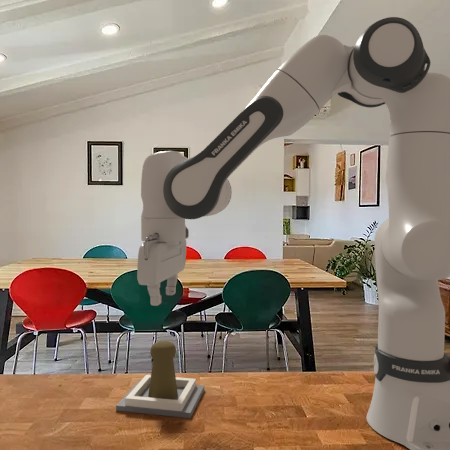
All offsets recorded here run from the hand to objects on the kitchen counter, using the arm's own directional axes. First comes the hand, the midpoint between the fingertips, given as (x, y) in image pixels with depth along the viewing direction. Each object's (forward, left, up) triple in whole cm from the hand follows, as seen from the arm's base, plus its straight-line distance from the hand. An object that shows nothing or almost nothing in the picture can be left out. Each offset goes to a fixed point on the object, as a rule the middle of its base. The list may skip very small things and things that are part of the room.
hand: (163, 299), depth 82 cm
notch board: (0, 0, -21) cm, 21 cm away
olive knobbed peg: (0, 0, -20) cm, 20 cm away
